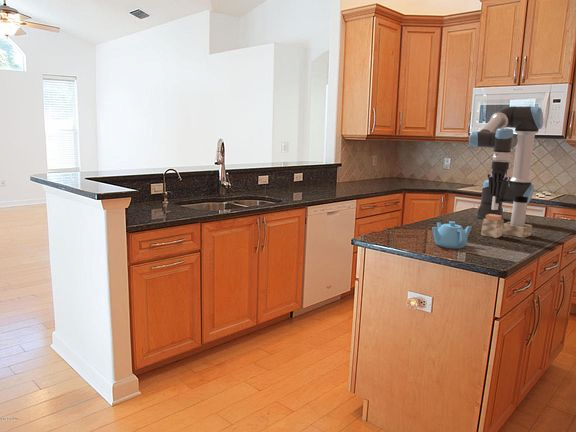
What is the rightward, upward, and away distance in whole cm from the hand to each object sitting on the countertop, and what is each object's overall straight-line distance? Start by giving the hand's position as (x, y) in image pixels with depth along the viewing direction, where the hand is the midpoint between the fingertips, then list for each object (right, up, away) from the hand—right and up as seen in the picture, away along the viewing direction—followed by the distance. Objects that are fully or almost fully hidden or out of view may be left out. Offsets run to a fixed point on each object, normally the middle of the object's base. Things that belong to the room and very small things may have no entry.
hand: (494, 209), depth 227 cm
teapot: (-29, -16, -20) cm, 39 cm away
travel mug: (+14, -13, +7) cm, 20 cm away
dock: (+8, -13, +5) cm, 16 cm away
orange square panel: (0, -6, +1) cm, 6 cm away
